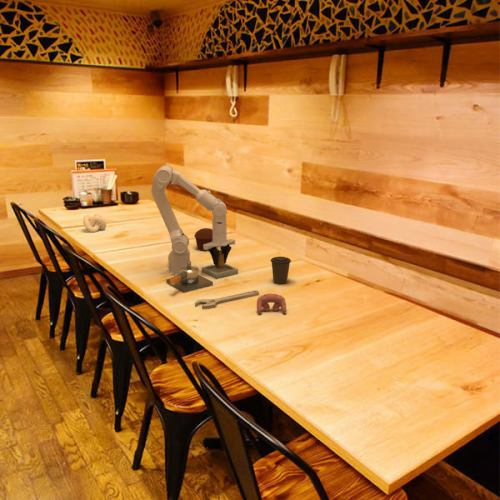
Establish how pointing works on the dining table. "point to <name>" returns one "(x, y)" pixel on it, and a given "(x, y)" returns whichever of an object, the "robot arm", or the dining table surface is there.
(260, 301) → the video game controller
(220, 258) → the orange bottle
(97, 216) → the pretzel
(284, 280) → the coffee cup
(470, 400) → the dining table surface
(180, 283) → the chuck base
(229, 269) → the tray
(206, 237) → the muffin
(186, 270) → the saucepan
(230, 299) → the adjustable wrench
